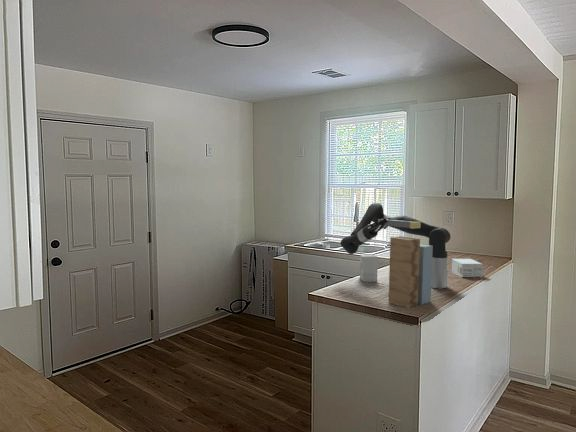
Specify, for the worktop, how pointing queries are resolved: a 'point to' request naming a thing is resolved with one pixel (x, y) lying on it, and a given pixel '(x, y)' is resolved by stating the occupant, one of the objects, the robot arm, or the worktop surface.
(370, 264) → the supplement box
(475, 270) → the supplement box
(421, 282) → the light blue tall block
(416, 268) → the brown wooden tall block
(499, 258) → the worktop surface
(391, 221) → the grey and tan bar
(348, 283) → the worktop surface
